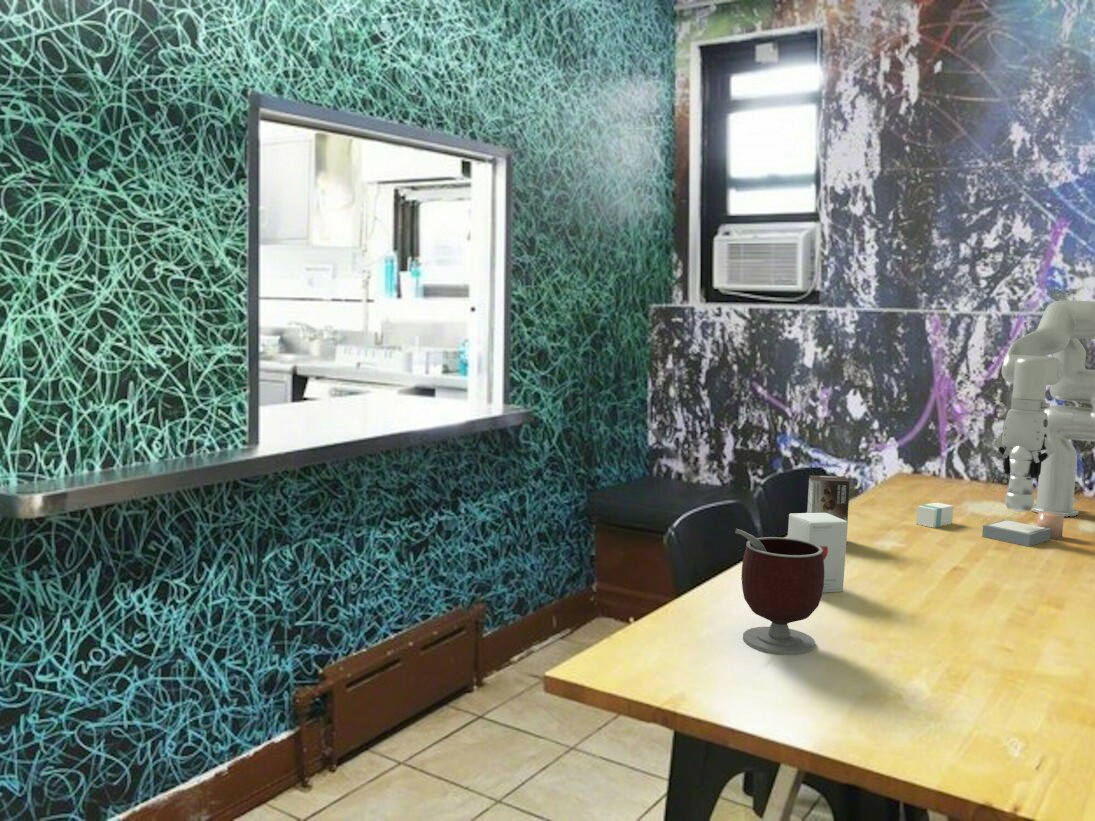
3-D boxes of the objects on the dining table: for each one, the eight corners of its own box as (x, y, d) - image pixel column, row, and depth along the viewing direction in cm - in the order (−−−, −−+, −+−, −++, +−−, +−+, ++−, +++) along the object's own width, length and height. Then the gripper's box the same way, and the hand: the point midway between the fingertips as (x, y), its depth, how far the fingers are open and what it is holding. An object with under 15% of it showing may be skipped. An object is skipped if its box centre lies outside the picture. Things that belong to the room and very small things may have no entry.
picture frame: (1004, 530, 260) (1005, 519, 260) (1050, 540, 251) (1051, 528, 251) (982, 536, 253) (983, 524, 253) (1028, 546, 244) (1029, 534, 243)
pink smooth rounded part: (1042, 532, 260) (1044, 510, 259) (1065, 537, 255) (1068, 515, 254) (1032, 535, 256) (1034, 513, 255) (1055, 540, 251) (1058, 517, 250)
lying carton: (934, 520, 271) (936, 502, 271) (952, 523, 268) (953, 505, 267) (915, 524, 265) (917, 506, 265) (933, 528, 261) (934, 509, 261)
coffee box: (841, 538, 246) (845, 476, 244) (846, 545, 240) (851, 480, 238) (804, 536, 247) (808, 474, 245) (809, 543, 240) (813, 479, 239)
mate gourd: (806, 629, 177) (812, 521, 174) (830, 657, 163) (838, 540, 161) (721, 627, 176) (727, 519, 174) (738, 655, 162) (745, 538, 160)
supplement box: (805, 594, 198) (809, 522, 196) (783, 581, 206) (787, 512, 205) (844, 592, 200) (849, 521, 198) (821, 579, 209) (825, 511, 207)
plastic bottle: (1037, 514, 248) (1044, 436, 246) (1010, 513, 248) (1017, 435, 246) (1025, 509, 254) (1032, 433, 252) (999, 508, 254) (1006, 432, 252)
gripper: (1069, 408, 244) (1062, 479, 246) (1001, 401, 257) (995, 469, 259) (1056, 410, 239) (1049, 482, 241) (987, 403, 252) (981, 471, 254)
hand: (1021, 474), depth 250 cm, fingers closed on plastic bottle, 5 cm apart
